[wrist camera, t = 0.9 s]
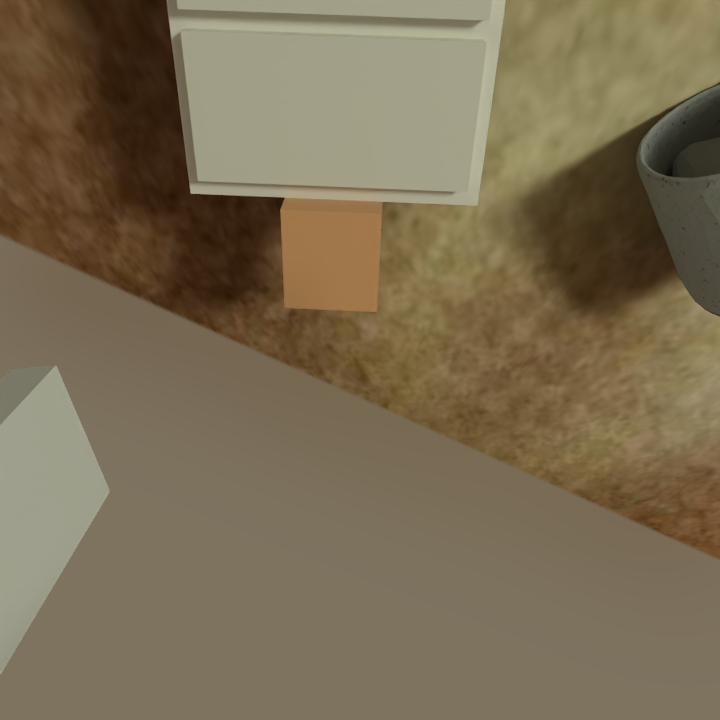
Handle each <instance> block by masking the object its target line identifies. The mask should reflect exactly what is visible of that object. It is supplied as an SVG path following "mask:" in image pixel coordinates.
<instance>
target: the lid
mask: <svg viewBox="0 0 720 720" xmlns="http://www.w3.org/2000/svg"><path fill="white" fill-rule="evenodd" d="M166 1H167V9H168V17H169V25H170V33H171V41H172V49H173V57H174V65H175V73H176V81H177V89H178V97H179V105H180V113H181V120H182V128H183V136H184V144H185V152H186V160H187V168H188V176H189V184H190V192H191V194H212V195H236V196H260V197H284V198H285V199H284V201H283V204H282V207H281V209H280V213H281V236H282V258H283V281H284V304H285V308H299V309H322V310H345V311H367V312H377V302H378V283H379V263H380V243H381V223H382V202H404V203H429V204H453V205H478V198H479V190H480V183H481V176H482V169H483V161H484V154H485V147H486V140H487V133H488V125H489V118H490V111H491V104H492V96H493V89H494V82H495V75H496V68H497V60H498V53H499V46H500V39H501V32H502V24H503V17H504V10H505V3H506V0H166Z"/></svg>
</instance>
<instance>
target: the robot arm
mask: <svg viewBox="0 0 720 720" xmlns="http://www.w3.org/2000/svg"><path fill="white" fill-rule="evenodd" d="M109 492H110V491H109V488H108V486H107V484H106V481H105V479H104V477H103V474H102V472H101V469H100V467H99V465H98V462H97V460H96V458H95V456H94V453H93V451H92V448H91V446H90V444H89V441H88V439H87V437H86V434H85V432H84V430H83V427H82V425H81V423H80V420H79V418H78V416H77V413H76V411H75V408H74V406H73V404H72V402H71V399H70V397H69V394H68V392H67V390H66V387H65V385H64V383H63V380H62V378H61V376H60V373H59V371H58V368H57V366H56V365H51V366H38V367H25V368H14V369H12V370H11V371H10V372H9V373H8V374H7V375H6V376H5V377H4V378H3V379H2V380H1V381H0V674H1V673H2V671H3V669H4V668H5V666H6V664H7V663H8V661H9V659H10V657H11V656H12V654H13V653H14V651H15V649H16V647H17V646H18V644H19V643H20V641H21V639H22V638H23V636H24V634H25V633H26V631H27V629H28V628H29V626H30V624H31V622H32V621H33V619H34V617H35V616H36V614H37V612H38V611H39V609H40V607H41V606H42V604H43V602H44V601H45V599H46V597H47V596H48V594H49V592H50V591H51V589H52V587H53V586H54V584H55V582H56V581H57V579H58V577H59V576H60V574H61V572H62V570H63V569H64V567H65V566H66V564H67V562H68V561H69V559H70V557H71V555H72V554H73V552H74V550H75V549H76V547H77V545H78V544H79V542H80V540H81V539H82V537H83V535H84V534H85V532H86V530H87V529H88V527H89V525H90V524H91V522H92V520H93V519H94V517H95V515H96V513H97V512H98V510H99V509H100V507H101V505H102V504H103V502H104V500H105V499H106V497H107V495H108V493H109Z"/></svg>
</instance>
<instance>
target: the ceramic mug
mask: <svg viewBox="0 0 720 720" xmlns="http://www.w3.org/2000/svg"><path fill="white" fill-rule="evenodd" d="M636 166H637V169H638V172H639V175H640V178H641V180H642V183H643V185H644V187H645V190H646V192H647V195H648V197H649V200H650V203H651V205H652V208H653V211H654V213H655V216H656V219H657V221H658V224H659V227H660V229H661V232H662V234H663V236H664V238H665V240H666V243H667V246H668V249H669V251H670V254H671V257H672V260H673V262H674V265H675V267H676V270H677V273H678V275H679V278H680V280H681V281H682V283H683V284H684V286H685V287H686V289H687V291H688V292H689V294H690V295H691V296H692V298H693V299H694V300H695V302H697V303H698V304H699V305H700V306H701V307H703V308H704V309H705V310H707V311H709V312H710V313H712V314H715V315H717V316H720V84H719V85H717V86H715V87H713V88H710V89H708V90H705V91H703V92H701V93H700V94H698V95H696V96H694V97H692V98H691V99H689V100H687V101H685V102H684V103H683V104H681V105H679V106H677V107H676V108H675V109H673V110H672V111H670V112H669V113H667V114H666V115H665V116H663V117H662V118H661V119H660V120H659V121H658V122H657V123H656V124H655V125H654V126H653V127H652V128H651V129H650V130H649V131H648V132H647V133H646V135H645V136H644V137H643V139H642V140H641V142H640V144H639V147H638V150H637V154H636Z"/></svg>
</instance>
